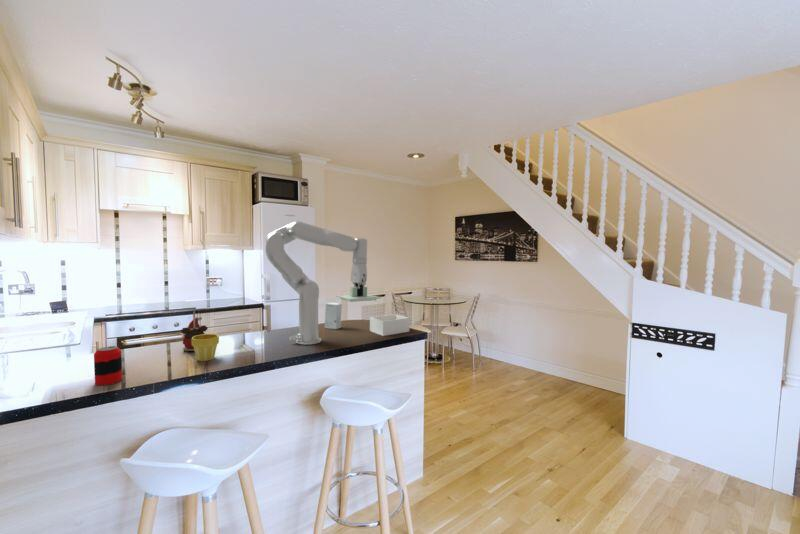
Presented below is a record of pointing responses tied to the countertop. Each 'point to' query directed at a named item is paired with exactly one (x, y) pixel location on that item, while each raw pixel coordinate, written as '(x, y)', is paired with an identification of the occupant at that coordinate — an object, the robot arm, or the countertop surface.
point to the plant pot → (205, 346)
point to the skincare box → (333, 315)
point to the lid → (355, 298)
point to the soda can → (107, 365)
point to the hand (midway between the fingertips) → (358, 295)
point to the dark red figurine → (192, 332)
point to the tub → (389, 324)
